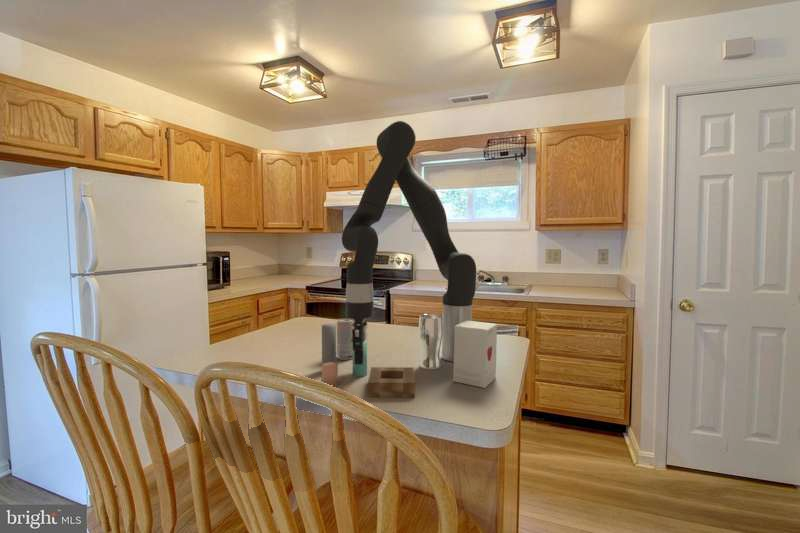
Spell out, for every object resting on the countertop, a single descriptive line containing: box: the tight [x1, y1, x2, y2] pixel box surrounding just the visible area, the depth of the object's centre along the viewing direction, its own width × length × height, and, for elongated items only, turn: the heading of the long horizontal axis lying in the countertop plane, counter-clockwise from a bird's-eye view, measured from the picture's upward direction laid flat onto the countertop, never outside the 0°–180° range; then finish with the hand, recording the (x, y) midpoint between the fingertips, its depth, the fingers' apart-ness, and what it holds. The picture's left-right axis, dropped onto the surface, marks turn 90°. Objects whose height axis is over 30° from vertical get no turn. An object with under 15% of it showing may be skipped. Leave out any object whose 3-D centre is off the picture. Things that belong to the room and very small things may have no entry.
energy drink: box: [336, 318, 355, 361], centre depth 119 cm, size 5×5×12 cm
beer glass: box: [418, 313, 443, 371], centre depth 111 cm, size 7×7×15 cm
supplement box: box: [452, 320, 498, 389], centre depth 100 cm, size 9×9×15 cm
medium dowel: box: [352, 340, 368, 378], centre depth 104 cm, size 4×4×9 cm
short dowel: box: [321, 362, 339, 387], centre depth 97 cm, size 4×4×5 cm
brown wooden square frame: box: [367, 366, 416, 398], centre depth 95 cm, size 11×11×4 cm
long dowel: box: [321, 323, 337, 365], centre depth 107 cm, size 4×4×13 cm
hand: (359, 360), depth 104 cm, fingers open, 4 cm apart
